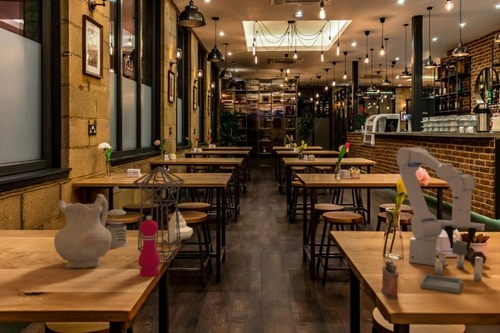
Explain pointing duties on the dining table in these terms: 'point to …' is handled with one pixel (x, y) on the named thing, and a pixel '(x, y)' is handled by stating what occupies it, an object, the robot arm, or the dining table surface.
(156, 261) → the pepper mill
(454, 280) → the tray
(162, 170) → the geometric lantern
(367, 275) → the dining table surface
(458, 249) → the nut
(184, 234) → the soft serve ice cream
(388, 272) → the lighter
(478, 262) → the spacer field
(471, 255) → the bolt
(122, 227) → the french press
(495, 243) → the dining table surface
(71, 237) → the ceramic pitcher
